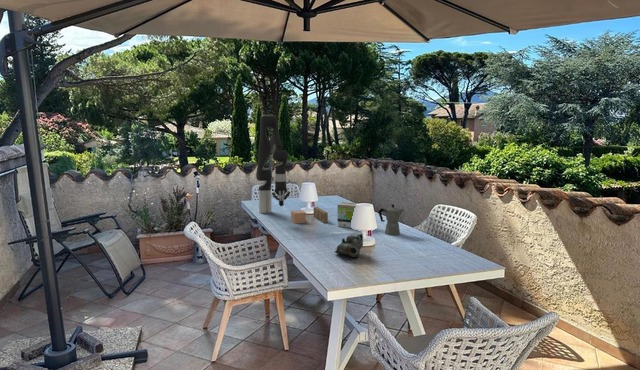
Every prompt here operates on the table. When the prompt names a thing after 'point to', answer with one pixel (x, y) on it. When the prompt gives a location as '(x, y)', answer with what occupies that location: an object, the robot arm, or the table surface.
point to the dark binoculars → (351, 245)
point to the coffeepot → (391, 220)
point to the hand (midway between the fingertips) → (281, 206)
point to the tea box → (345, 214)
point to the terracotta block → (298, 216)
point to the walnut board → (321, 215)
